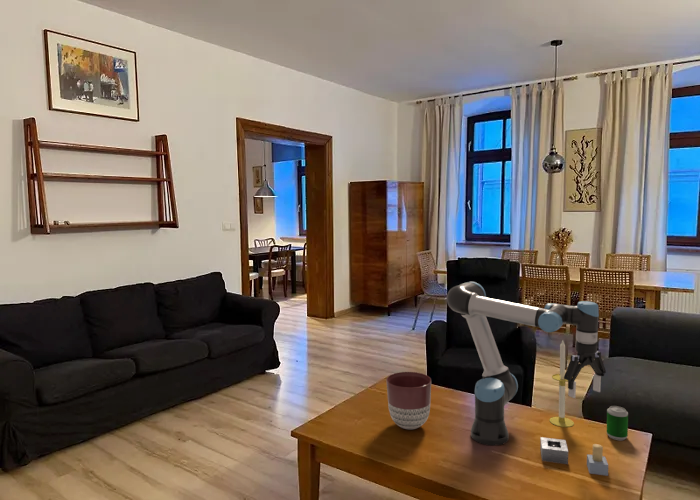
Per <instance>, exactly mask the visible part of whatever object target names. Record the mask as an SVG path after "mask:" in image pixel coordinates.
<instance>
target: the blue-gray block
mask: <svg viewBox="0 0 700 500" xmlns="http://www.w3.org/2000/svg"><path fill="white" fill-rule="evenodd" d="M603 447H604V446H603V445H601V444H597V443H594V444H592V454H590V453H589V454H586V467H587V470H588V473H589V474H592V475H599V476H607V477H608V476H609V463H608V460H607V458H606V456H604V455H603V454H604V453H603V452H604V449H603Z"/></svg>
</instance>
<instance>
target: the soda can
mask: <svg viewBox="0 0 700 500" xmlns="http://www.w3.org/2000/svg"><path fill="white" fill-rule="evenodd" d="M628 430H629V412H628V411H627V410H626V409H625V408H624V407H621V406H617V405H611V406H609V408H607V409H606V435H608V437H609V438H610V439H612V440H615V441H625V440H626V439H627V438H628V435H629V434H628Z"/></svg>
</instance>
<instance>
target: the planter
mask: <svg viewBox="0 0 700 500" xmlns="http://www.w3.org/2000/svg"><path fill="white" fill-rule="evenodd" d="M386 390H387V392H386V393H387V402H388V403H387V405H388V406H387V407H388V411H389V415H390V417H391V419H392V421H393V422H394V423H395V425H397V427H400V428H401V429H405V430H416V429H418V428H421V427H422V426H423V425H424V424H426V422H427V420H428V418H429V415H430V410H431V401H432V394H431V393H432V378H431V377H430V376H429V375H426V374H424V373H420V372H415V371H400V372H396V373H392V374H389V375H388V376H387V377H386Z"/></svg>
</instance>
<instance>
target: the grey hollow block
mask: <svg viewBox="0 0 700 500" xmlns="http://www.w3.org/2000/svg"><path fill="white" fill-rule="evenodd" d="M551 443H554V444H557V445H558V447H550V444H551ZM539 444H540V448H539V449H540V457H541V462H546V463H555V464H563V465H568V464H569V449H568V444H567V441H566V439H559V438H552V437H551V438H550V437H543V436H542V437H541V436H540V443H539Z"/></svg>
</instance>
